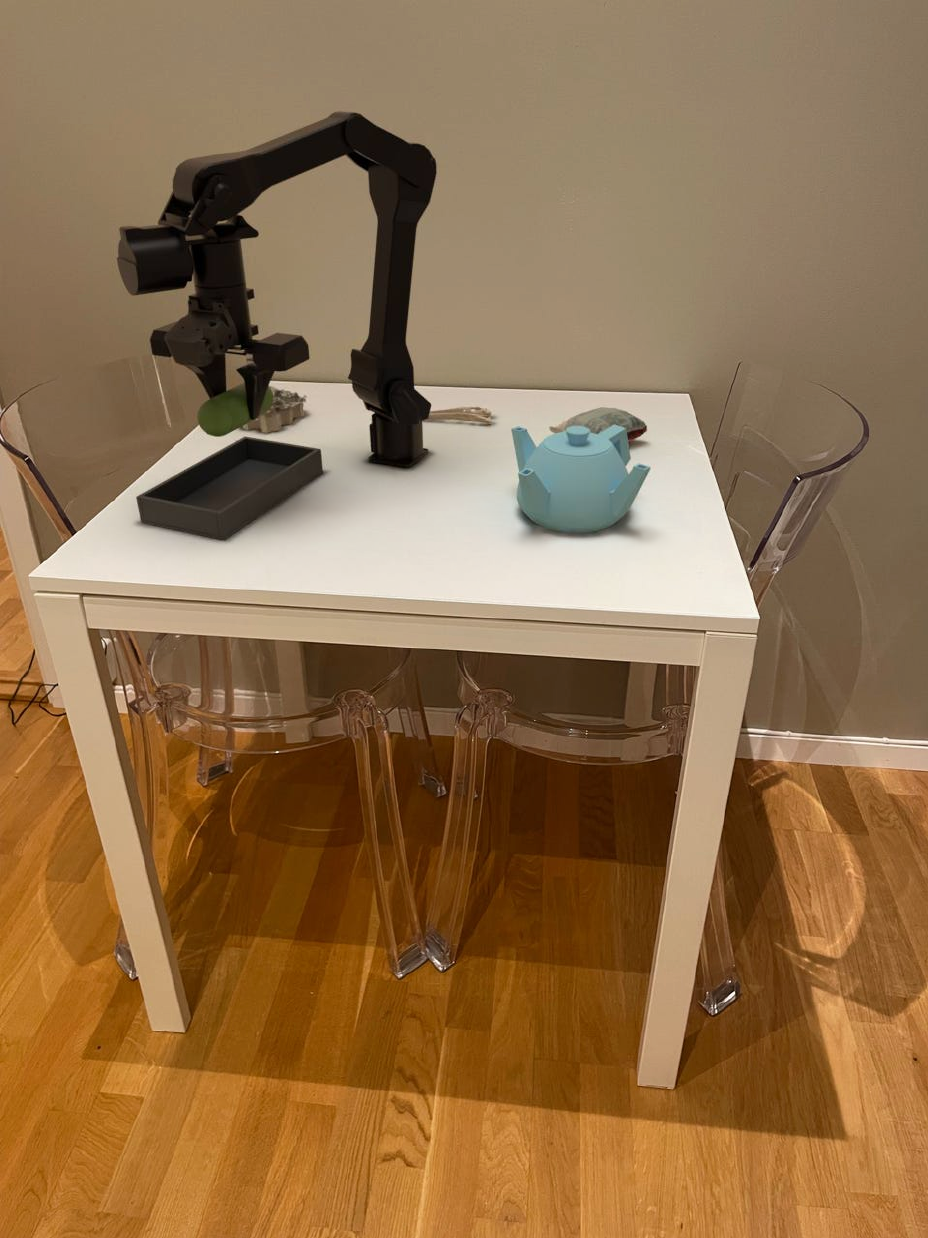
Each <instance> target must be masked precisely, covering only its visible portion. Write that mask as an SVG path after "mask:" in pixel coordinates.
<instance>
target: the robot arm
mask: <svg viewBox="0 0 928 1238" xmlns="http://www.w3.org/2000/svg"><path fill="white" fill-rule="evenodd" d="M344 156H345V157H346V158H348V160H349V161H351V162H352V163H353V164H354V165H355V166H357V167H359V168H360V169H362V170H363V171H365V172H366V173H367V175H368V176H367V178H368V190H369V197H370V200H371V203H372V205H373V208H374V211H375V214H376V218H377V226H376V240H375V249H374V250H375V251H374V266H373V275H372V276H373V277H372V290H371V301H370V312H369V313H370V315H369V325H368V327H369V328H368V336H367V338H366V340H365V342H364V344H363V345H362V347H361V349H358V348H356V349H355V348H352V349H351V351H350V371H349V374H348V376H347V379H348V380H350V381H351V387H352V391H353V393H355V395H356V396H357V398H358V399H359V400H361V401H362V402H363V404H364V408H365V409H366V411H369V412H372V414H371V423H370V424H369V425H368V426H369V442H370V452H371V453H372V454H370V455H369V456H368V457H367V460H368V462H372V463H378V464H383V465H390V466H396V467H402V468H411V467H412V466H414V465H415V464H416V463H417V462H419V461H420V460H421V459H422V458H424V457H425V456H426V455H428V454H429V453H430V452H429V448H426V447H424V433H423V432H424V431H423V429H424V428H423V427H424V425H423V421H427V419H428V417H429V413H430V411H431V409H432V402H430V401H429V400H428V399H427V398H425V396H424V395H422V394H421V393H420V392H419V391H418V390H417V389H416V388H415V370H414V369H415V368H414V364H413V360H412V358H411V354H410V352H409V347H408V345H407V333H408V332H407V331H408V324H409V323H408V321H409V313H410V311H409V310H410V300H411V291H412V280H413V270H414V259H415V247H416V239H417V238H416V237H417V228H418V224H419V222H420V220H421V219H422V217H423V215H424V214H425V211H426V210H427V208H428V206H429V205H430V203H431V199H432V195H433V192H434V188H435V183H436V180H437V179H436V178H437V172H438V170H437V169H438V168H437V167H438V165H437V160H436V158H435V157H434V156H433V154H432V152H431V150H430V149H429V148H427V146H425V144H424V145H423V144H421V143H418V142H409V141H406V140H405V139H403V138H402V137H400V136H397V135H396V134H393V133H392V132H390V131H388V130H386V129H384V128H382V127H381V126H379V125H376V124H375V123H373V122H372V121H370V120H369V119H368V118H366V117H365V116H364V115H362V114H361V113H358V112H355V111H354V112H353V111H341V110H339V111H333V112H332V113H330V115H329V116H327V117H326V118H323V119H321V120H318V121H316V122H313V123H310V124H308V125H306V126H303V127H300V128H298V129H295V130H293V131H291V132H288V133H286V134H283V135H281V136H278V137H276V138H273V139H270V140H268V141H266V142H264V143H261V144H258V145H256V146H253V147H251V148H249V149H245V150H242V151H234V152H228V153H227V152H226V153H225V152H224V153H214V154H209V155H205V156H198V157H192V158H188V159H185V160H184V161H181V162H180V163H179V164H178V165H177V166H176V167H175V172H174V174H173V178H172V192H171V194H170V196H169V198H168V199H167V202H166V204H165V207H164V209H163V210H162V212H161V214H160V217H159V219H158V221H157V224H153V225H152V224H151V225H145V226H144V225H143V226H134V225H124V226H120V227H119V229H118V232H119V236H120V239H119V241H118V244H117V257H116V262H117V263H116V264H117V268H118V272H119V275H120V278H121V280H122V283H123V285H124V287H125V289H126V291H127V293H128V294H130V296H132V297H134V296H135V297H136V296H140V295H141V296H142V295H147V294H155V293H161V292H169V291H175V290H183V289H185V288H186V287H187V284H188V283H190V282H192V281H193V286H194V287H193V288H194V293H193V294H190V295H188V300H187V307H188V310H187V314H186V315H185V316H182V317H181V318H179V320H176V321H174V322H171V323H169V324H166V325H162V326H160V327H157V328H154V329H153V330H152V332H151V334H150V338H149V344H150V351H151V355H152V356H158V357H164V358H173V361H174V362H175V363H176V364H178V365H180V366H184V367H185V368H187V369H188V370H190V371H192V372H193V374H195V375H196V377H197V379H198V380H199V382H200V383H201V385H202V387H203V389H204V390H205V392H206V394H207V396H208V397H209V399H211V398H213V397H215V396H218V395H220V394H222V393H224V392H226V391H227V364H226V363H227V361H226V354H231V355H237V356H243V357H244V356H245V358H246V359H245V361H246V364H244V365H242V366H240V367H238V368H236V369H235V370H236V372H237V373H238V374H239V375H240V376H241V378H242V380H243V381H244V382H245V390H246V397H247V405H248V411H249V415H250V419H251V420H255V419H257V418H258V416H259V413H260V410H261V407H262V404H263V401H264V398H265V395H266V392H267V389H268V386H270V383H271V381H272V379H273V376H274V374H275V372H278V373H279V372H287V371H288V370H291V369H293V368H295V367H296V366H299V365H301V364H303V363H304V362H307V361H309V360H310V348H309V346H310V345H309V344H308V341H307V340H306V339H305V338H304V336H303V335H302V334H301V335H300V334H291V333H284V332H283V333H282V332H276V333H273V334H271V335H269V336H267V337H264V338H261V339H253V337H254V336H257V335H259V334H260V333H259V325H258V324H252V321H251V313H250V305H249V301H250V300H253V299H255V290H254V288H248V287H247V281H246V273H245V265H244V264H245V263H244V257H243V248H242V240H246V239H255V238H258V237H259V234H260V233H259V231H258V230H257V229H256V228H254V227H253V226H252V225H250V224H249V223H248V222H247V220H246V219H245V217H244V216H243V215H241V214H240V213H241V212H243V211H245V210H246V209H248V208H249V207H250V206H252V205H253V204H255V202H256V201H257V200H258V198H259V197H260V196H261V195H262V194H263V193H264V192H266V191H268V190H269V189H270V188H272V187H274V186H276V185H278V184H281V183H283V182H285V181H287V180H290V179H292V178H295V177H296V176H297V177H298V176H300V175H302V174H304V173H307V172H308V171H311V170H314V169H316V168H318V167H321V166H324V165H326V164H328V163H330V162H332V161H334V160H335V161H336V160H337V159H340V158H342V157H344ZM244 382H243V383H244Z"/></svg>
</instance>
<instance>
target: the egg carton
mask: <svg viewBox="0 0 928 1238" xmlns="http://www.w3.org/2000/svg"><path fill="white" fill-rule="evenodd" d="M269 387H270V388H271V390H272V392H273V396H274V401H273V405H272V407H271V408H270V410H269V411H268V412H267V413H265V414H263V415H262V416H260V417H258V418H257V419H255V420H252V421H251V422H249V423H247V424H245V425H243V426H242V428H243V429H244V430H247V431H249V430H252V429H258V430H261V432H262V433H265V434H268V433H270V432H272V433H273V432H279V431H281V430H282V425H291V424H292V423H293V422H294V420H293V419H295V418H302V417H303V418H304V417H305V411H304V404H305V403H306V402H307V398H308V396H307V395H303V396H300V395H299V393H298V392H297V391H295V392H292V391H290V390H285V389H283V388H282V389H279V388H277V387H275V386H272V385H269Z"/></svg>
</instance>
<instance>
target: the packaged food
mask: <svg viewBox="0 0 928 1238" xmlns="http://www.w3.org/2000/svg"><path fill="white" fill-rule="evenodd" d="M614 424H615V425H618V426H621V427H624V428H626V431H627V437H628V443H629V442H631V441H634V440H636V439H638V438H640V437H641V436H643V435H644V434H645V433H647V432H648V426H647V424H646V423H645V421H644V420H642V419H640V418H639V417H637V416H635V415H633V414H632V413H630V412H628V411H627V410H622V409H619V408H617V407H605V406H602V407H597V408H592V409H591V410H588V411H584V412H581V413H579V414H576V415H574V416H572V417H569V418H568V419H567V420H563V421H562V422H561V423H558V425H556V426H550V425H549V431H550V432H551V433H553V434H555V433H560V432H566V429H567V428H568V427H571V426H583V427H586V428H589V429H590V433H595V434H599V433H601V432H603V431H604V430H606V429H608V428H609V427H611V426H612V425H614Z"/></svg>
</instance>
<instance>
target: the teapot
mask: <svg viewBox="0 0 928 1238" xmlns="http://www.w3.org/2000/svg"><path fill="white" fill-rule="evenodd" d="M511 436H512V441H513V447H514V451H515V457H516V462H517V468H518V469H517V470H518V473H517V476H518V484H517V488H516V501H517V504H518V506H519V507H520V509H521V511H523V513H524V514H525V515H526V516H527V518H529V519H530V520H531V521H532V522H533V523H534V524H537V525H538V526H540V527H542V528H545V529H548V530H552V531H556V532H562V533H572V534H582V533H583V534H584V533H593V532H598V531H602V530H605V529H608V528H609V527H611V526H613V525H615V524H616V523H617V522H619V520H620V519H622V518H623V517H624V516H625V515H626V514H627V513H628V511H629V510H630V509H631V508H632V506H633V504H634V502H635V499H636V498H637V496H638V494H639V492H640V490H641V488H642V486H643V484H644V482H645V480H646V478H647V477H648V474H649V473H650V471H651V466H649V465H647V464H643V463H640V462H638V463H637V464H634V465H633V466H632V469H631V470H630V471H628V469H627V466H628V464H629V462H630V461H631V459H632V458H631V457H632V456H631V451H630V445H629V442H628V437H627V431H626V428H624V427H621V426H618V425H615V424H614V425H612V426H611V427H609V428H608V429H606V430H604V431H603V432H601V433H599V434H595V433H590V429H589V428H586V427H583V426H571V427H568V428H567V429H566V432H560V433H553V434H550V435H548V436H546V437H545V438H544V439H543V440H542V441H541V442H540V443H539V444H538V446H537V445H536V443H535V442H534V440H533V439H532V437H531V435H530V433H529V432H528V428H526V427H522V426H519V425H518V426H515V427H512V428H511Z"/></svg>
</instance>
